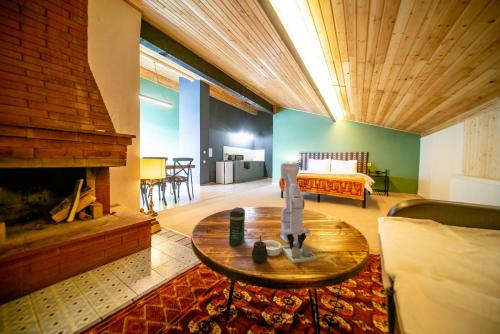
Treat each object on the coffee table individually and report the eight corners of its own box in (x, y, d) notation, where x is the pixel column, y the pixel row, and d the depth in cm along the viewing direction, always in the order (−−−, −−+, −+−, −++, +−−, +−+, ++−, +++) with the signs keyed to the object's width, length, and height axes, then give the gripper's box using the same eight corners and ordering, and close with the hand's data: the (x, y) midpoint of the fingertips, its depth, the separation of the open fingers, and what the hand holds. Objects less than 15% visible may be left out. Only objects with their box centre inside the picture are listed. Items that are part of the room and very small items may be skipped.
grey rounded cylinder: (290, 249, 94) (290, 241, 94) (297, 248, 95) (297, 241, 95) (293, 253, 90) (294, 244, 90) (300, 252, 91) (300, 244, 91)
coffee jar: (241, 246, 97) (242, 211, 96) (227, 245, 99) (227, 210, 98) (246, 238, 107) (246, 206, 106) (232, 237, 108) (233, 205, 108)
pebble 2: (300, 254, 89) (301, 246, 89) (307, 253, 90) (307, 245, 90) (304, 258, 86) (305, 249, 86) (311, 257, 87) (312, 249, 86)
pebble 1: (290, 255, 88) (290, 247, 88) (297, 254, 89) (297, 246, 89) (293, 259, 84) (293, 251, 84) (300, 258, 85) (301, 250, 85)
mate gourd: (252, 265, 80) (252, 242, 80) (250, 256, 88) (250, 235, 88) (269, 264, 81) (269, 242, 81) (265, 256, 89) (266, 235, 88)
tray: (280, 249, 95) (281, 246, 95) (302, 247, 98) (302, 244, 98) (292, 263, 82) (292, 260, 82) (316, 260, 85) (316, 256, 85)
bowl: (258, 246, 97) (258, 241, 97) (276, 244, 100) (276, 239, 100) (264, 256, 88) (264, 250, 88) (284, 254, 90) (284, 248, 90)
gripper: (286, 225, 86) (285, 254, 87) (313, 223, 90) (313, 250, 90) (280, 220, 93) (279, 246, 94) (306, 218, 96) (305, 244, 97)
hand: (295, 248), depth 93 cm, fingers open, 4 cm apart
